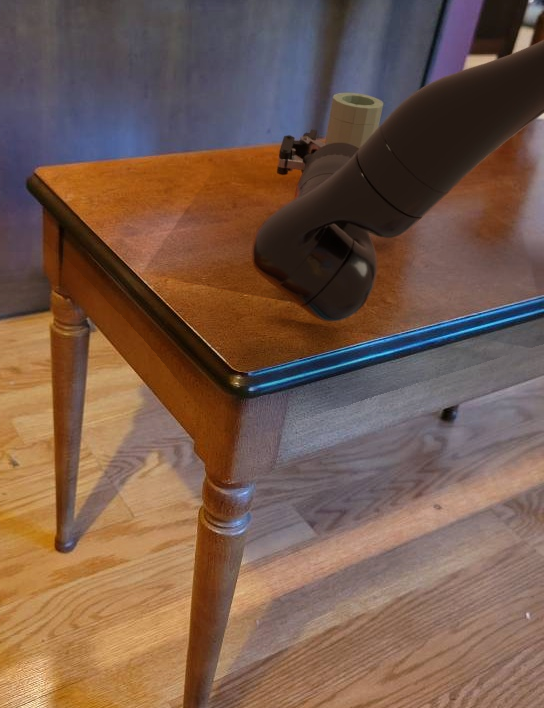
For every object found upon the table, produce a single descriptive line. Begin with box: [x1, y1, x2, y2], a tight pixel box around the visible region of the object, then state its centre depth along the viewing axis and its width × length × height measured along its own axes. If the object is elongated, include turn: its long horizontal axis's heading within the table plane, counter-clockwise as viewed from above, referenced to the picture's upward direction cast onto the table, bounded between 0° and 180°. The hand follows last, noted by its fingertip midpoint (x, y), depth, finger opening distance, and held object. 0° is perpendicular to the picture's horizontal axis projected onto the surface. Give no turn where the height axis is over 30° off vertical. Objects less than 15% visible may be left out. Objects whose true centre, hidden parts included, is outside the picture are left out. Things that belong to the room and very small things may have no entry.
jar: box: [324, 92, 384, 149], centre depth 94 cm, size 6×6×11 cm
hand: (348, 144), depth 87 cm, fingers open, 8 cm apart
